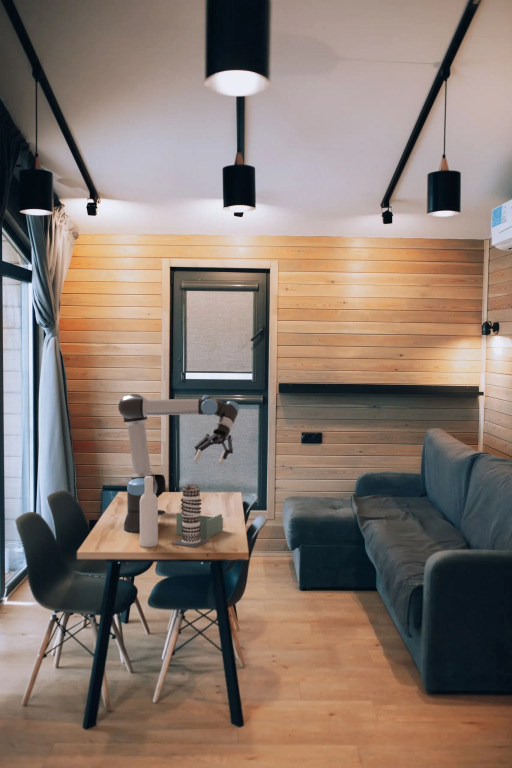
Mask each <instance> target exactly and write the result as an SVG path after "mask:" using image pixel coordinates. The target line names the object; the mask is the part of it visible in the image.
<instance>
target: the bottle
mask: <svg viewBox="0 0 512 768" xmlns="http://www.w3.org/2000/svg"><path fill="white" fill-rule="evenodd" d="M144 481H145V493H144V494H143V495H142V496H141V499H140V532H139V545H140V547H143V548H153V547H157V546H158V544H159V533H158V532H159V524H158V523H159V515H158V510H159V506H158V505H159V499H158V498H157V496H156V495H155V494H154V493H153V477H152V476H146V477H145V479H144Z"/></svg>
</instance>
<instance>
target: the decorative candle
mask: <svg viewBox="0 0 512 768" xmlns="http://www.w3.org/2000/svg"><path fill="white" fill-rule="evenodd" d="M181 490H182V498H181V499H180V502H181V503H180V504H181V505H180V506H181V508H180V509H181V512H180V513H182V516H183V521H182V528H183V529H182V531H183V532H182V535H181V539H183V540H182V542H183V543H187V544H194V543H199V542H200V538H201V536H200V535H201V533H200V530H201V529H200V527H201V525H200V515H201V513H202V511H201V510H202V507H200V506H201V505H202V499H201V494H200V490H201V488H200V487H199V485H197V484H193V483H190V484H185V485H184V486H183V488H182V489H181ZM201 516H202V515H201ZM201 539H202V538H201Z"/></svg>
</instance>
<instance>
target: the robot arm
mask: <svg viewBox="0 0 512 768" xmlns="http://www.w3.org/2000/svg"><path fill="white" fill-rule="evenodd" d="M117 407H118V411H119V414H120V415H121V416H122V418H123V423H124V424H125V425H126V426H127V430H128V431H127V432H128V438H129V439H128V440H129V447H130V454H131V461H132V463H131V464H132V470H133V473H132V474H131V477H130V478H131V480H129V481H128V482H127V487H126V491H127V494H126V495H127V498H126V499H127V505H126V506H127V508H126V509H127V510H126V511H127V512H126V517H125V519H124V521H123V522H124V523H123V530H124V531H125V532H131V533H140V499H141V496H142V495H143V494H144V493H145V481H144V479H145V477H146V476H152V477H153V493H154V494H155V495H156V493H157V489H158V486H157V482H156V480H155V475H154V474H155V472H154V471H153V470H151V469H152V468H151V462H150V455H149V454H150V453H149V445H148V439H147V430H146V424H145V423H146V422H147V420H148V416H170V415H171V416H180V415H181V416H189V415H190V416H191V415H192V416H194V415H198V416H199V415H201V416H202V415H203V416H213V415H214V416H216V417H219V418H218V420H217V423H216V425H215V427H214V429H213V432H212V434H209V433H206V435H205V436H204V437H203V438H202V439H201V440H200V441H199V442H198V443H197V444H196V445H195V446H194V449H195V451H196V452H195V453H194V455H195V456H194V458H193V462H194V463H195V464H198V462H199V461H200V458H201V456H202V454H203V451H204V450H206V449H207V448H208V447H210V446H212V445H222V447H223V449H224V450H222V453H221V455H220V457H219V460H218V464H219V465H220V467H221V466H223V464H224V461H225V460H227V457H228V455H229V454H231V455H232V454H233V453H234V450H233V437H232V435H231V434H230V432H231V431H232V428H233V426H234V423H235V421H236V419H237V417H238V414H239V413H240V412H239V411H240V405H239V404H238V402H236V401H234V400H232V401H231V400H228V401H226V402H223V401H221V400H219V399H216V398H214V397H213V396H211V395H210V396H209V395H207V394H204V395H203V396H202V398H201V399H199V398H195V399H194V398H191V399H189V398H187V399H183V398H182V399H181V398H180V399H177V398H175V399H173V398H172V399H171V398H169V399H165V398H164V399H163V398H162V399H156V398H155V399H147V397H146V396H145V397H143V396H142V395H140V394H137V393H134V394H133V393H132V394H129V395H125V396H123V397H122V398H120V400H119V401H118V406H117ZM226 441H227V445H228V448H227V446H226V443H225V442H226Z"/></svg>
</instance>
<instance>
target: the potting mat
mask: <svg viewBox="0 0 512 768" xmlns="http://www.w3.org/2000/svg"><path fill="white" fill-rule="evenodd" d="M182 540H183V539H182V538H180V539H178V540H176V541H174V542H172V543H171V545H175V546H180V547H189V548H198V547H200V546H202V545H204V544H206V543H208V542H210V539H209V538H207V539H206V538H200V542H199V543H194V544H187V543H183V542H182Z"/></svg>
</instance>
